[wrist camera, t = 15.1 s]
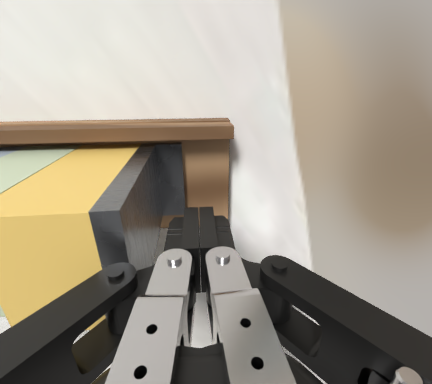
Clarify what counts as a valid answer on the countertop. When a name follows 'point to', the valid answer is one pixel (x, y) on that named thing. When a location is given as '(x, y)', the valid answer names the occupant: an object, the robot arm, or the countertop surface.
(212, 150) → the book trough
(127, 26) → the countertop surface
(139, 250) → the bookend
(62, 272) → the book ochre
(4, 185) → the book sage
